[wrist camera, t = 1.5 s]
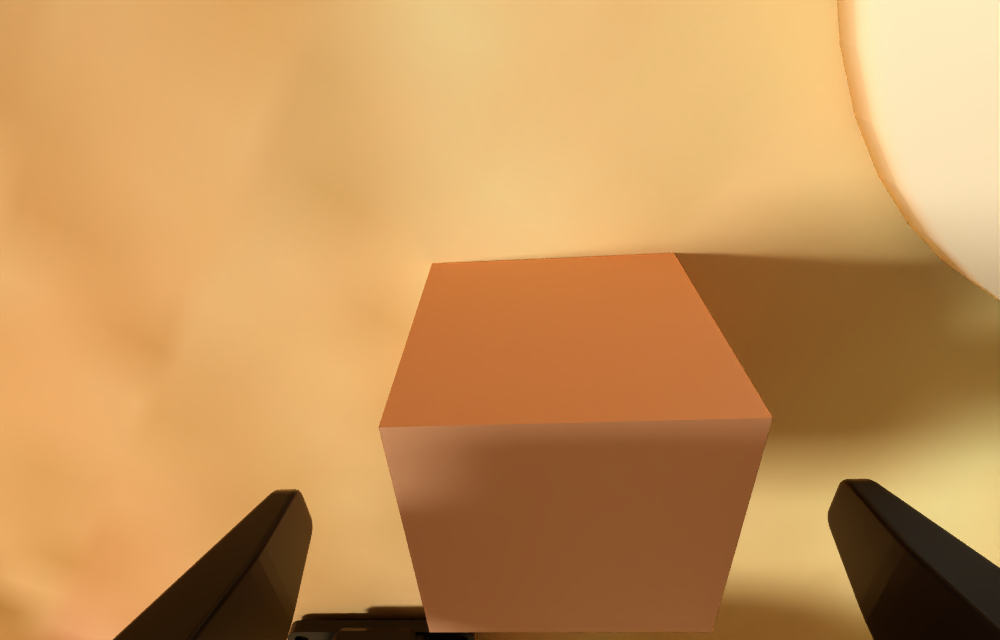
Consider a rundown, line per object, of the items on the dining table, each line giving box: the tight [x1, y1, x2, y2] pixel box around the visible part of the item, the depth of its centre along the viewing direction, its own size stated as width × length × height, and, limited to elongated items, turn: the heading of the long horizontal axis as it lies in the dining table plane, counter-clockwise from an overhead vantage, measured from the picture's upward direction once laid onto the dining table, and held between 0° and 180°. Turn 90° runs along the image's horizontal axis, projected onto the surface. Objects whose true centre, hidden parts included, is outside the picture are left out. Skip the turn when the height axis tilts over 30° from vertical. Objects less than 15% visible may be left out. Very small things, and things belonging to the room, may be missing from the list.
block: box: [379, 253, 773, 632], centre depth 10 cm, size 5×5×5 cm
